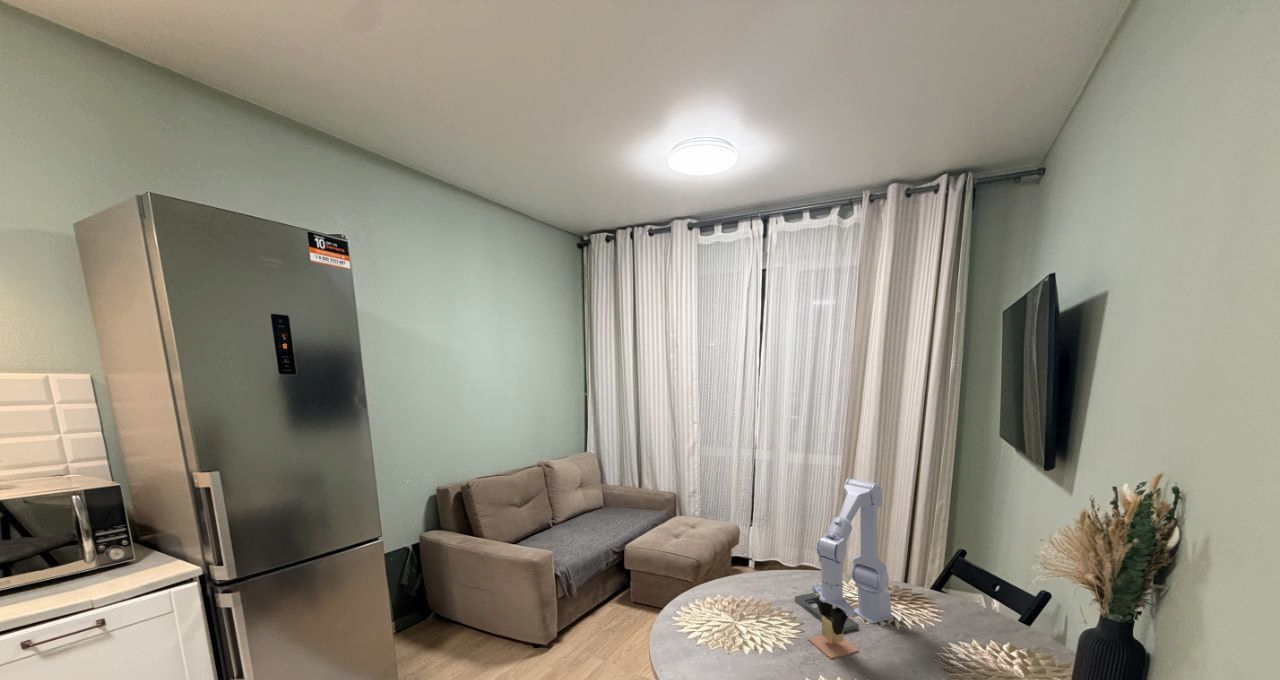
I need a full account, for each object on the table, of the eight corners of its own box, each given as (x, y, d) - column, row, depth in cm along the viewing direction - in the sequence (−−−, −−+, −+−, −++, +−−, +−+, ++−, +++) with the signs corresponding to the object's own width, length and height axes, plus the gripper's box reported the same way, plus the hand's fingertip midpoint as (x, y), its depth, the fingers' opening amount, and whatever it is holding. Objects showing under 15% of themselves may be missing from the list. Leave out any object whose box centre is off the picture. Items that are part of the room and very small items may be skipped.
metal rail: (813, 597, 155) (813, 592, 155) (858, 629, 136) (858, 624, 136) (794, 600, 152) (794, 596, 152) (837, 634, 133) (837, 629, 134)
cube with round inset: (833, 633, 131) (832, 612, 131) (843, 641, 127) (842, 619, 127) (822, 635, 129) (821, 614, 130) (832, 644, 125) (831, 622, 126)
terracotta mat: (835, 633, 134) (835, 632, 134) (858, 651, 125) (858, 650, 125) (808, 640, 131) (808, 638, 131) (830, 659, 122) (830, 657, 122)
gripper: (803, 571, 135) (804, 618, 134) (839, 595, 121) (840, 646, 120) (822, 568, 137) (823, 613, 136) (859, 591, 123) (860, 641, 122)
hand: (832, 629), depth 128 cm, fingers closed on cube with round inset, 4 cm apart
